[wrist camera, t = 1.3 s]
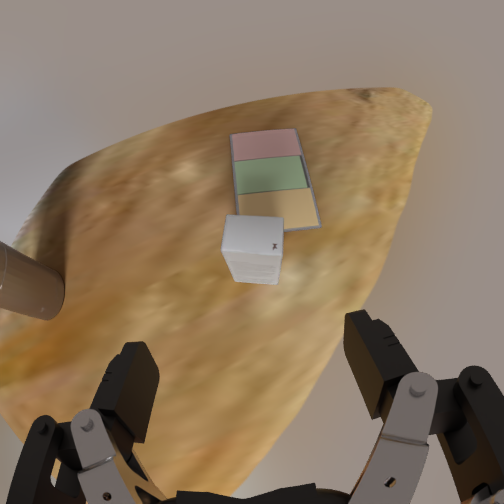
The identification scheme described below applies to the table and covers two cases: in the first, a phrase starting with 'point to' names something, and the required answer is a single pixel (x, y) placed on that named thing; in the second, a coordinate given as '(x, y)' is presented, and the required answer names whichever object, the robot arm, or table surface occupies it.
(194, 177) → the table surface
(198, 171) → the table surface
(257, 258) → the skincare box
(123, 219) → the table surface
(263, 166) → the multicoloured flat board
